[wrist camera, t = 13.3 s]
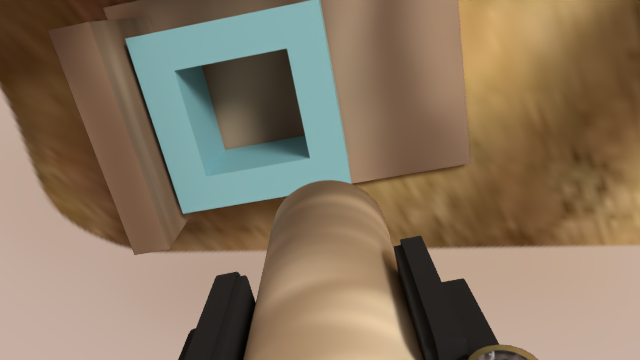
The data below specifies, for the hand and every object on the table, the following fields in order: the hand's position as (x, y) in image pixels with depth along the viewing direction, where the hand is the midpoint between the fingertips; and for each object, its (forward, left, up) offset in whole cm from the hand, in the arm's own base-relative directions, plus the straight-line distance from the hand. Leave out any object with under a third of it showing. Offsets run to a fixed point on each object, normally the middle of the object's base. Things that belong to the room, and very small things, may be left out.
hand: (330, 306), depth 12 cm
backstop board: (+2, -3, -20) cm, 20 cm away
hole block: (+4, -3, -20) cm, 20 cm away
